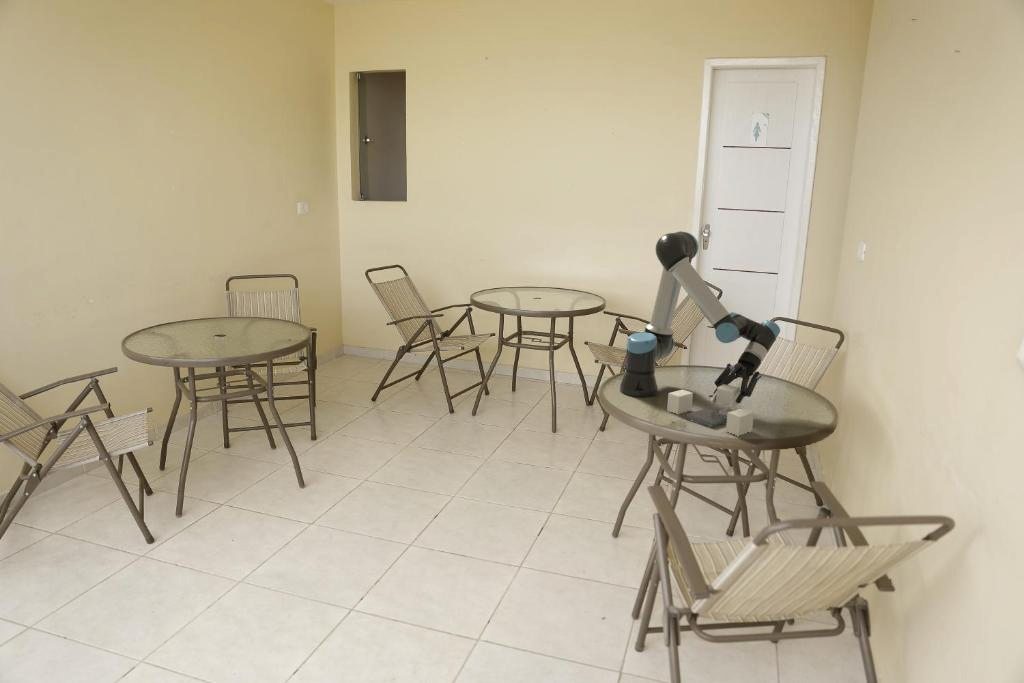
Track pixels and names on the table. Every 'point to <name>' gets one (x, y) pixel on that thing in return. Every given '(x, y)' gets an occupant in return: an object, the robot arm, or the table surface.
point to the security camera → (726, 397)
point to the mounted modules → (736, 420)
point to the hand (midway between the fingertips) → (721, 405)
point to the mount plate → (707, 418)
